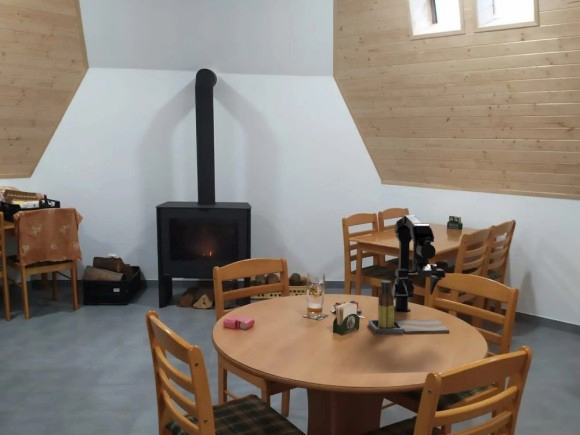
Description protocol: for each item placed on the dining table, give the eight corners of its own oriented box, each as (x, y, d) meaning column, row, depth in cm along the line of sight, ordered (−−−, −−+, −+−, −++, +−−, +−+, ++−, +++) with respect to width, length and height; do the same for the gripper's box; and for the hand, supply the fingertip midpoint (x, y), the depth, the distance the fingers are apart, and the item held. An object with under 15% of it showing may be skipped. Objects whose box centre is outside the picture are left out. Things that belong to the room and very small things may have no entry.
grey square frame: (368, 324, 210) (368, 319, 210) (395, 323, 211) (395, 319, 211) (375, 334, 199) (375, 329, 199) (403, 333, 200) (403, 328, 200)
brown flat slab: (395, 322, 213) (395, 320, 213) (436, 321, 215) (437, 319, 215) (405, 333, 200) (405, 331, 200) (449, 332, 202) (449, 330, 202)
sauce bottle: (393, 326, 208) (394, 279, 205) (394, 332, 202) (396, 283, 199) (376, 326, 209) (378, 278, 206) (377, 331, 203) (379, 282, 200)
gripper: (402, 258, 193) (401, 299, 194) (450, 258, 193) (449, 299, 194) (395, 254, 204) (394, 293, 205) (441, 254, 205) (440, 293, 205)
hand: (419, 294), depth 202 cm, fingers open, 9 cm apart
